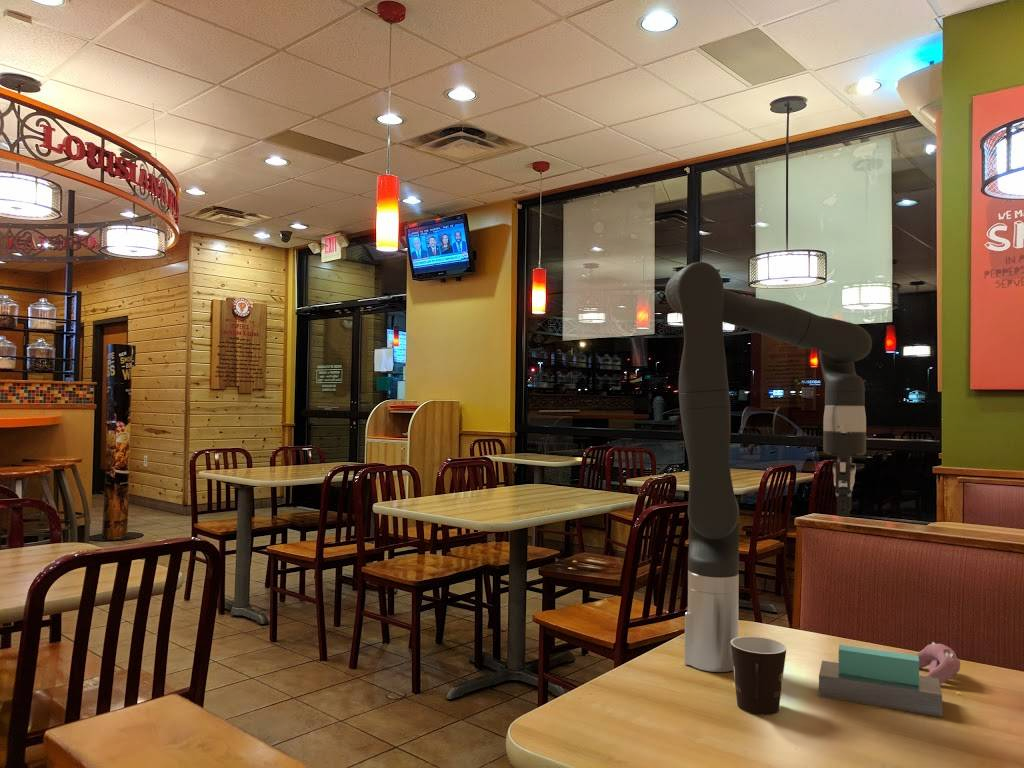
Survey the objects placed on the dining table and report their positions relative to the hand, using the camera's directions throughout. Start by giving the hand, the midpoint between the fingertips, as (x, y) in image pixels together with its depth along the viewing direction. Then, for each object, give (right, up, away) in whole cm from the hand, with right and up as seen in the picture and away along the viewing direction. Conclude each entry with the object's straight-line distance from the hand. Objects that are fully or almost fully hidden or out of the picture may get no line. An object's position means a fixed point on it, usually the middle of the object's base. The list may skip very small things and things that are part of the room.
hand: (844, 513), depth 144 cm
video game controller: (+13, -28, -8) cm, 32 cm away
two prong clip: (-3, -27, -18) cm, 33 cm away
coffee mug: (-25, -27, -24) cm, 44 cm away
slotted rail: (-2, -28, -19) cm, 33 cm away
